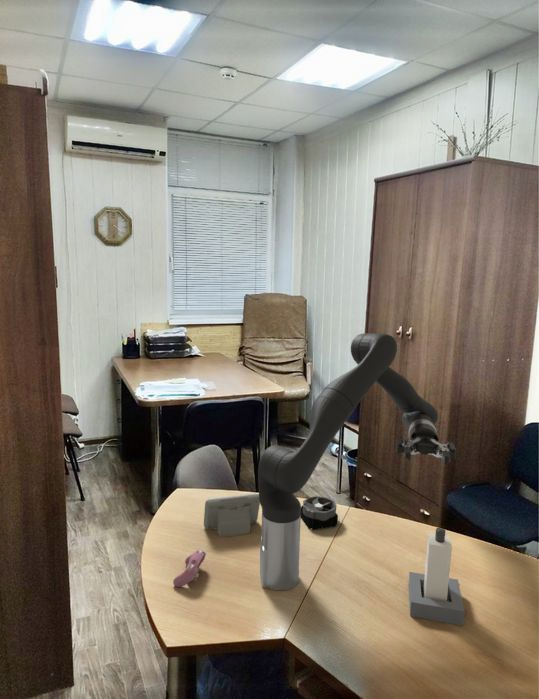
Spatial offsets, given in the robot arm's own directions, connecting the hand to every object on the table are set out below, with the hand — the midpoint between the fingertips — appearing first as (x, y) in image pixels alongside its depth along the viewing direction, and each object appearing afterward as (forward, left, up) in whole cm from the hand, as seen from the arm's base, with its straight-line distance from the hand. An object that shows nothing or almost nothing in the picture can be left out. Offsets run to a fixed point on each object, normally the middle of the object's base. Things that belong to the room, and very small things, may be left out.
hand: (427, 458), depth 119 cm
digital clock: (-46, +24, -30) cm, 60 cm away
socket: (-1, -12, -30) cm, 32 cm away
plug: (-1, -12, -30) cm, 32 cm away
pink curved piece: (-57, +3, -30) cm, 65 cm away
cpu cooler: (-20, +26, -30) cm, 45 cm away
